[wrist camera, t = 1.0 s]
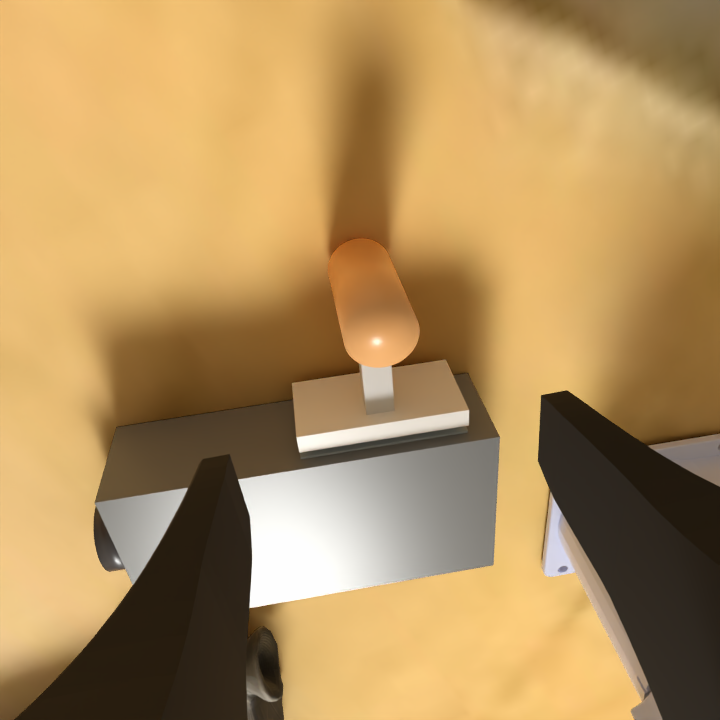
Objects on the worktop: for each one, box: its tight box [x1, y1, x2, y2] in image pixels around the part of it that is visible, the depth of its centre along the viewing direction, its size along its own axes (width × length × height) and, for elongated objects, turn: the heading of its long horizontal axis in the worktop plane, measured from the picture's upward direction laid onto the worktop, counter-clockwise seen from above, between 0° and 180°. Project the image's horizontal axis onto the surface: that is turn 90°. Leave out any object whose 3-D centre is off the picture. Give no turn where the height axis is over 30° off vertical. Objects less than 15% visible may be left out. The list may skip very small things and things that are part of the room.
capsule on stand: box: [292, 238, 469, 453], centre depth 21 cm, size 6×6×5 cm
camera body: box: [94, 373, 500, 608], centre depth 25 cm, size 15×7×4 cm, turn 95°
